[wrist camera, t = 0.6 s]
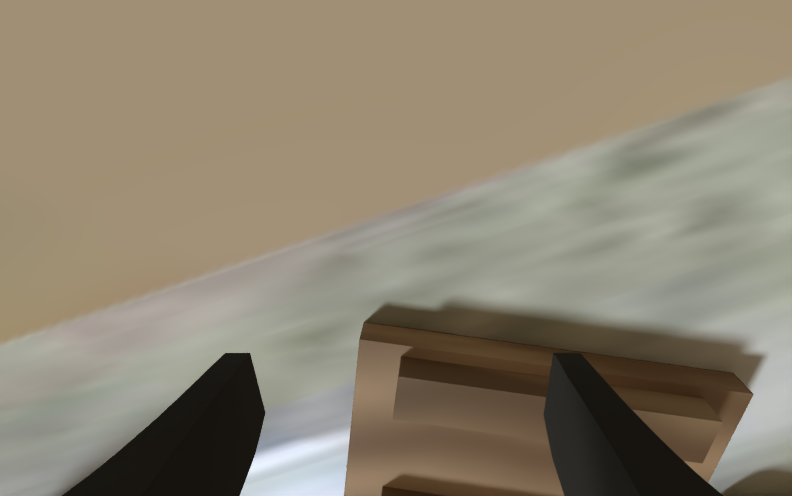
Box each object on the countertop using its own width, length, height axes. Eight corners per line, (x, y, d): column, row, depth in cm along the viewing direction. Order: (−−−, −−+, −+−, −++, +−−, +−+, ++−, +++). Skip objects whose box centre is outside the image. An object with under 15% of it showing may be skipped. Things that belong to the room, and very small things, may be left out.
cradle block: (652, 541, 27) (677, 596, 24) (346, 496, 27) (336, 545, 25) (733, 373, 22) (776, 417, 19) (364, 322, 23) (354, 358, 20)
